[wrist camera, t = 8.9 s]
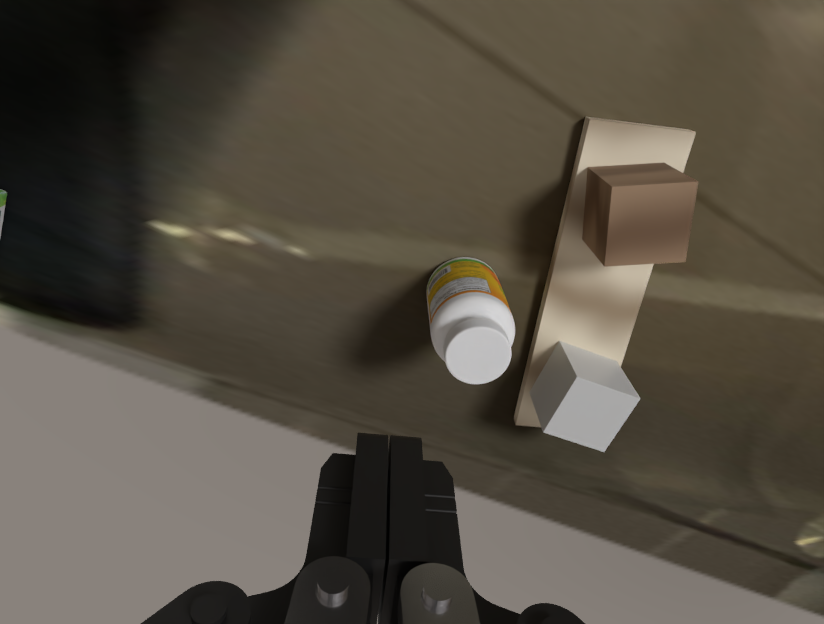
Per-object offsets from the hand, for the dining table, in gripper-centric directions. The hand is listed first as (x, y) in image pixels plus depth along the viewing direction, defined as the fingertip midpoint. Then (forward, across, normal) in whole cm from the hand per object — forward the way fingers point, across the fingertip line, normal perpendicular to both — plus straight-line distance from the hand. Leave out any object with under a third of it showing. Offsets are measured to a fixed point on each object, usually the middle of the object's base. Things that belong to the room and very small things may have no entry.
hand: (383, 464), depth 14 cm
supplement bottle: (+29, -6, +8) cm, 31 cm away
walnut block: (+28, -16, 0) cm, 32 cm away
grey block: (+28, -16, +14) cm, 35 cm away
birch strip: (+29, -16, +7) cm, 34 cm away
